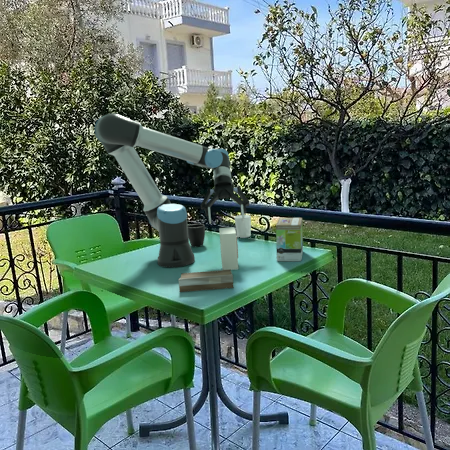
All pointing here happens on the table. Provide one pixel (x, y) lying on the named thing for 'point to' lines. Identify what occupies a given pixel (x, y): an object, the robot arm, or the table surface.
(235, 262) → the cream carton
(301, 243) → the tea box
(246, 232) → the white cup
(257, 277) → the table surface
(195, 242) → the mug
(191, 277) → the shelf board
